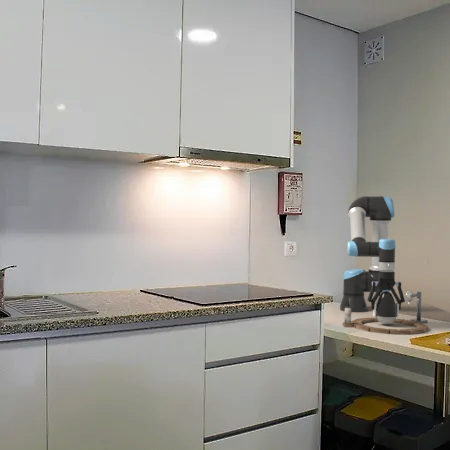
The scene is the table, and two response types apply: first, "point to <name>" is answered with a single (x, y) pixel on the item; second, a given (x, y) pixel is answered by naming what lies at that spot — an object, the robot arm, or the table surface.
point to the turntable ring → (359, 325)
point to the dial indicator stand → (409, 297)
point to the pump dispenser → (386, 308)
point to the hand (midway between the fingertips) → (385, 316)
